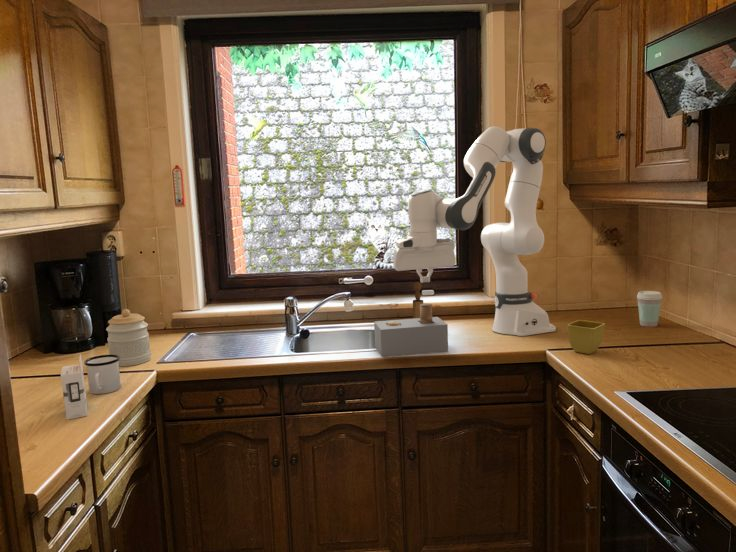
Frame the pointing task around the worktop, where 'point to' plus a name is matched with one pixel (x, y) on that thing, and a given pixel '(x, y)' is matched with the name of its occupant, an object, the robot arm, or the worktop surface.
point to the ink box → (74, 391)
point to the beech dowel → (394, 324)
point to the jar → (129, 338)
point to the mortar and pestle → (417, 300)
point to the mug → (103, 374)
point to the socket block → (411, 337)
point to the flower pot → (585, 335)
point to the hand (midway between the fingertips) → (425, 282)
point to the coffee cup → (649, 307)
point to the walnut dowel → (425, 313)
